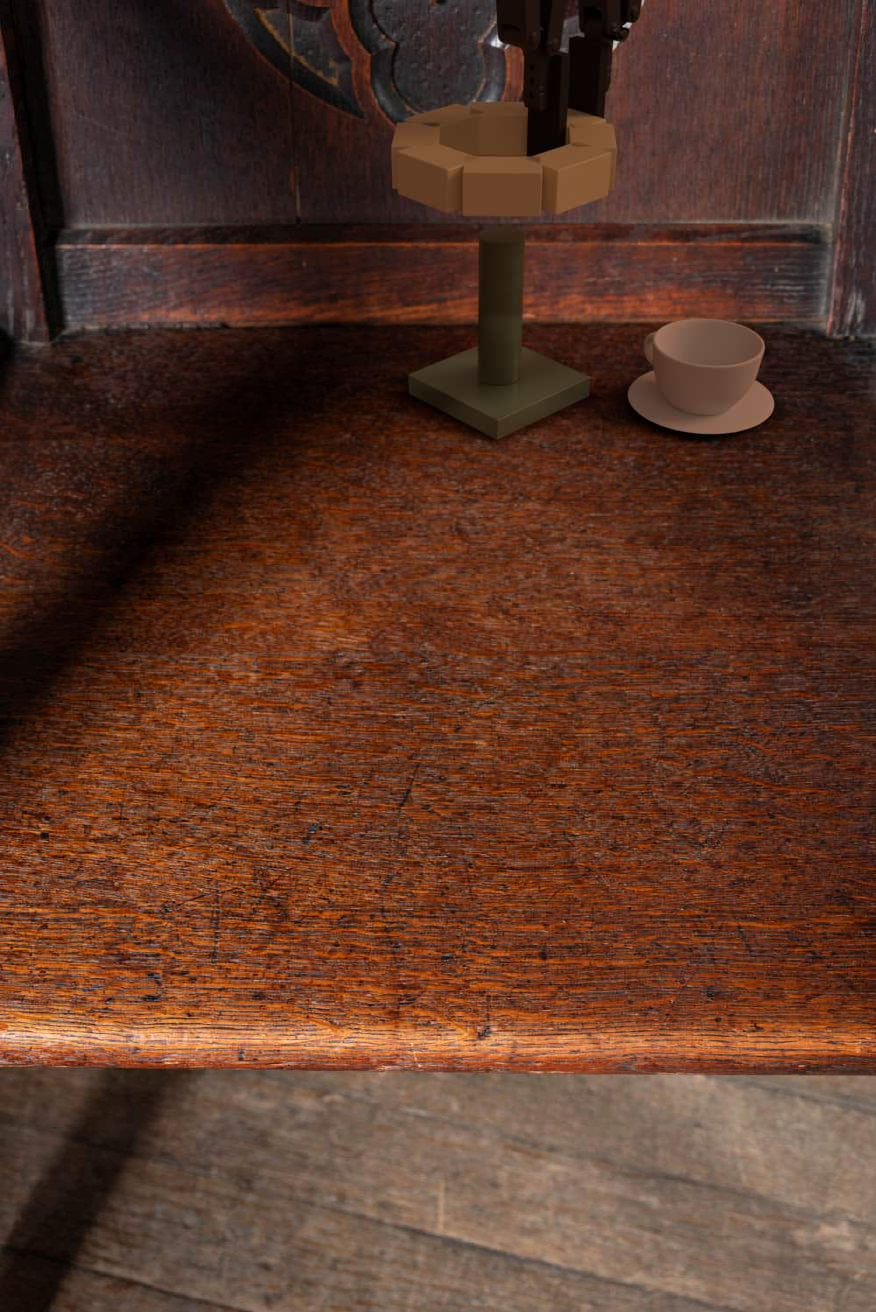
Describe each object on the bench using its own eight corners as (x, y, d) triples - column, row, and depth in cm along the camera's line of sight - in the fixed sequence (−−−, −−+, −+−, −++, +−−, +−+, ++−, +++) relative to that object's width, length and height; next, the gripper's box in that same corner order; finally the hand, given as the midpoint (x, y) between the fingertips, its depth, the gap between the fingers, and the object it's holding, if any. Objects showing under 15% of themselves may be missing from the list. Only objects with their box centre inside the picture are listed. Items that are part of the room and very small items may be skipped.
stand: (408, 393, 89) (404, 233, 82) (500, 354, 94) (503, 199, 86) (497, 440, 84) (500, 273, 76) (589, 396, 88) (600, 235, 81)
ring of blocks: (351, 176, 80) (348, 133, 78) (505, 129, 86) (506, 89, 85) (500, 235, 72) (501, 189, 70) (657, 178, 79) (661, 135, 77)
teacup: (801, 404, 87) (813, 341, 84) (715, 456, 82) (725, 391, 79) (684, 358, 93) (692, 297, 90) (597, 404, 87) (602, 342, 84)
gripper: (531, -292, 60) (518, 198, 75) (736, -305, 69) (688, 140, 83) (427, -295, 65) (434, 168, 80) (632, -308, 73) (603, 115, 88)
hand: (564, 153), depth 82 cm, fingers closed on ring of blocks, 3 cm apart
